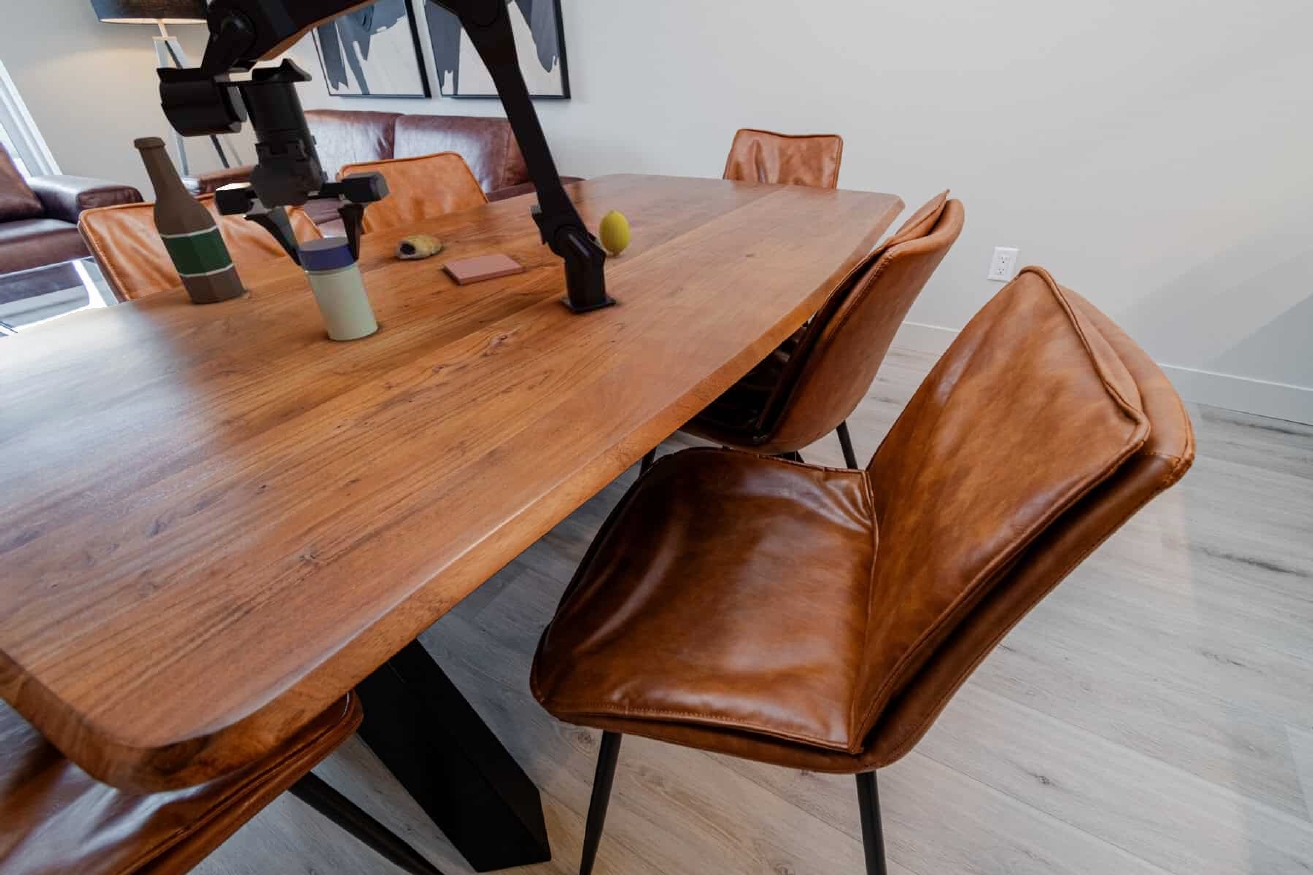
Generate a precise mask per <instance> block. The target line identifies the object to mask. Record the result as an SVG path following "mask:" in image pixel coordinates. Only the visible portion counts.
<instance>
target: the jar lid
mask: <svg viewBox="0 0 1313 875" xmlns="http://www.w3.org/2000/svg"><path fill="white" fill-rule="evenodd" d="M295 251H296V253H297V256H298V259H299V262H300V264H301V266H300V267H301V269H302V270H303V271H305V272H306V271H326V270H333V269H338V268H342V267H346V266H349V265H351V264H353V263H355V262H357V263H358V261H359V259H358V260H356V261H355V260H354V259H353V256H352V254H351V251H350V248H349V244H348V240H347V236H330V237H323V238H317V239H316V238H315V239H312V240H311V239H310V240H308V241H304V242H301V243H298V245H297V246H296V247H295Z"/></svg>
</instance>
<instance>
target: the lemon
mask: <svg viewBox="0 0 1313 875" xmlns="http://www.w3.org/2000/svg"><path fill="white" fill-rule="evenodd" d="M598 236H599V242H600V244H601V245H602V247H603V249H604V250H605V251H608V252H609V253H612V255H613V256H617V257H618V256H619V255H620V253H621V252H623V251H624V250H626V248H627V247H628V246H629V243H630V239H631V231H630V226H629V223H628V221H627V219H626V217H625V216H624V215H623V214H621V213H620V212H617V211H616V210H614V209H613V210H612V209H611V210H610V211H609V212H608V213H606V214H605V215H604V216H602V218H601V220H600V222H599V228H598Z"/></svg>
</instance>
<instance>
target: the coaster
mask: <svg viewBox="0 0 1313 875" xmlns="http://www.w3.org/2000/svg"><path fill="white" fill-rule="evenodd" d="M443 269H444V270H445V271H446V272H447V273H448V274H449V275H450V276H451V277H452V278H453V279H454V280H455V281H456V282H457V283H458V284H459V285H467V284H470V283H476V282H481V281H486V280H492V279H495V278H501V277H506V276H510V275H515V274H519V273H523V272H524V270H523V266H522V265H521V264H520V263H518V262H516V261H515V260H513V259H512V258H510V256H507V255H506V254H505V253H503V252H499V253H494V254H489V255H483V256H478V257H472V258H467V259H462V260H455V261H451V262H446V263H443Z"/></svg>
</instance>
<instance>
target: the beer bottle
mask: <svg viewBox="0 0 1313 875" xmlns="http://www.w3.org/2000/svg"><path fill="white" fill-rule="evenodd" d="M166 145H167V143H165V141H164V140H163V139H162V137H159V136H145V137H138V138H134V139H133V147H134V148H135V149H137V150H138V153H139V155H140V157H141V160H142V162H143V164H144V167H145V169H146V172H147V175H148V177H149V180H150V182H151V184H152V187H153V191H154V195H155V201H154V206H153V210H152V213H153V214H152V215H153V222H154V226H155V227H156V230H157V233H158V235H159V238H160V240H161V241H162V244H163V245H164V248H165V249H166V251H167V254H168V256H169V258H170V260H171V261H172V264H173V266H174V268H175V270H176V273H177V274H178V277H179V278H180V281H181V283H182V284H183V288H184V289H185V291H186V293H187V294H188V296H189V298H190V299H191V300H192V301H193V302H195V303H198V304H201V305H203V304H212V303H220V302H224V301H227V300H231V299H234V298H237V297H239V296H240V295H241V294H242V293H243V292H244V286H243V283H242V280H241V278H240V276H239V274H238V271H237V269H236V266H235V264H234V261H233V259H232V258H231V255H230V252H229V250H228V248H227V245H226V243H225V241H224V239H223V236H222V234H221V232H220V229H219V227H218V224H217V223H216V220H215V219H214V217H213V215H212V213H211V212H210V210H208V208H207V207H206V206H205V205H204V204H203V202H201V201H200V200H198V199H197V198H196V197H194V195H192V194H191V193H190V192H189V190H188V189H187V187H186V186H185V184H184V182H183V180H182V178H181V176H180V174H179V173H178V170H177V169H176V167H175V165H174V163H173V161H172V159H171V157H170V155H169V153H168V151H167V150H166V147H165V146H166Z"/></svg>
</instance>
